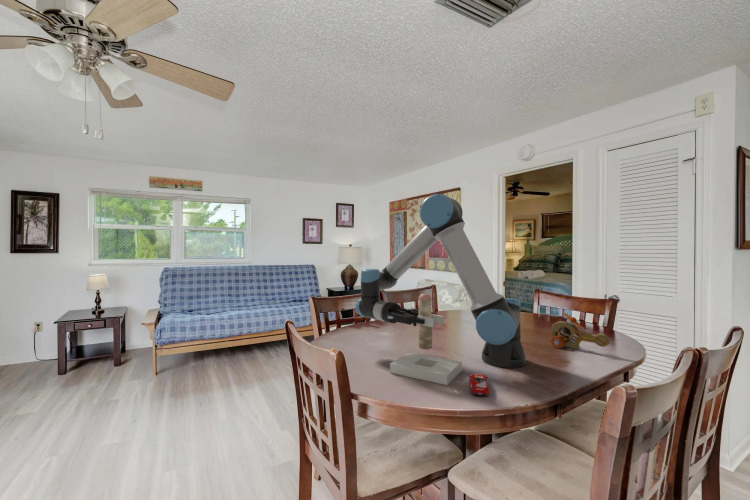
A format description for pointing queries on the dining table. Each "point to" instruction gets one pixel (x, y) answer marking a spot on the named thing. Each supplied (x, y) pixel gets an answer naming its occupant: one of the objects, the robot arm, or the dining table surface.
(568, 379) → the dining table surface
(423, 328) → the round-tipped rod
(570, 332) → the toy helicopter
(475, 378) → the race car
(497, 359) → the robot arm
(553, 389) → the dining table surface
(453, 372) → the block
